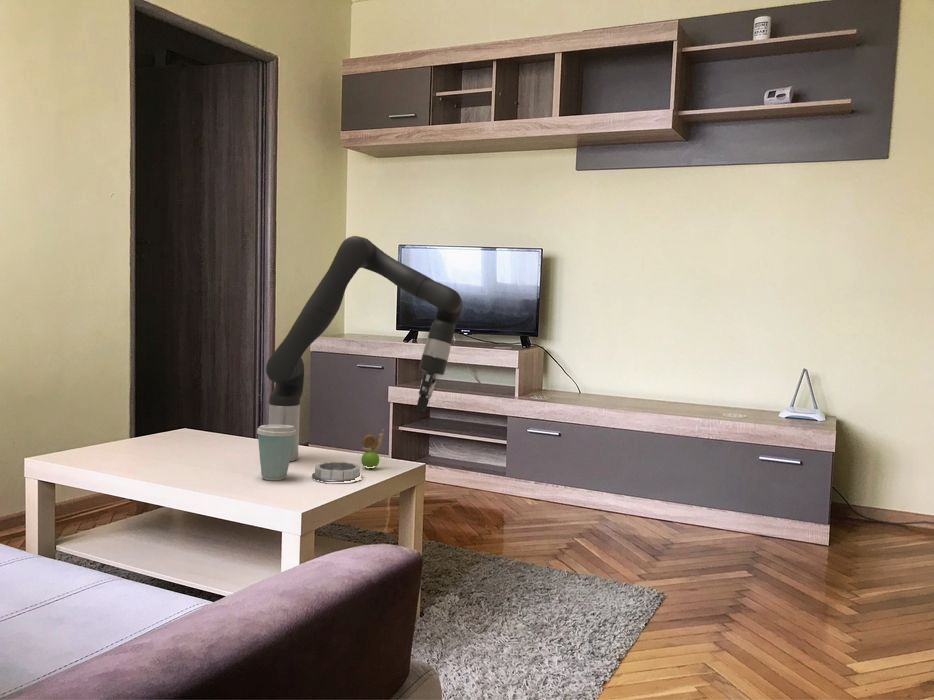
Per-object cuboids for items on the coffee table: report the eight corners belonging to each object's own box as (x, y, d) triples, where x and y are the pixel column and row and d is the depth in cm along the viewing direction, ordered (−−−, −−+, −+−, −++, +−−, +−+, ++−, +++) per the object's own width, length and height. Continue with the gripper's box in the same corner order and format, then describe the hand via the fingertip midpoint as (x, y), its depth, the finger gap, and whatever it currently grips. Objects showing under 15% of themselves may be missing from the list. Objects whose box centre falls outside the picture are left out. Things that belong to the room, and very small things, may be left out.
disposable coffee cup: (249, 475, 209) (250, 422, 208) (285, 472, 215) (287, 420, 214) (263, 484, 201) (265, 428, 200) (301, 480, 207) (303, 426, 206)
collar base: (310, 483, 204) (311, 471, 203) (313, 471, 217) (313, 460, 217) (362, 484, 206) (363, 472, 206) (361, 472, 220) (362, 461, 219)
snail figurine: (383, 470, 223) (385, 430, 223) (362, 471, 222) (363, 430, 221) (380, 466, 229) (382, 427, 228) (359, 466, 227) (361, 427, 226)
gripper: (424, 355, 225) (410, 407, 223) (420, 351, 211) (405, 406, 209) (448, 361, 225) (434, 414, 223) (446, 357, 210) (431, 413, 209)
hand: (420, 410), depth 216 cm, fingers open, 8 cm apart
